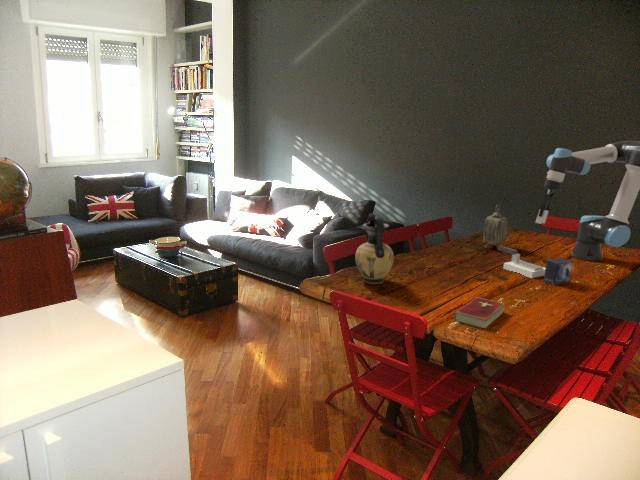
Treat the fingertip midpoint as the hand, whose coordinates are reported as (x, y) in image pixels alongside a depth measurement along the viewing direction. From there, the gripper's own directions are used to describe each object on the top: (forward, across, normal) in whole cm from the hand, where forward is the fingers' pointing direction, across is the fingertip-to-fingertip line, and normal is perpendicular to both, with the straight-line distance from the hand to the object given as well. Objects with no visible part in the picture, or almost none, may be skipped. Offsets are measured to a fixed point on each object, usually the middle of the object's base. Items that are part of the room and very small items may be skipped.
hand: (539, 223), depth 261 cm
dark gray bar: (+22, +2, -4) cm, 22 cm away
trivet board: (+24, +4, +1) cm, 25 cm away
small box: (+24, +12, +16) cm, 31 cm away
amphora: (+42, +60, -53) cm, 90 cm away
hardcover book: (+37, +74, -2) cm, 83 cm away
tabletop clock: (+22, -34, -23) cm, 47 cm away
